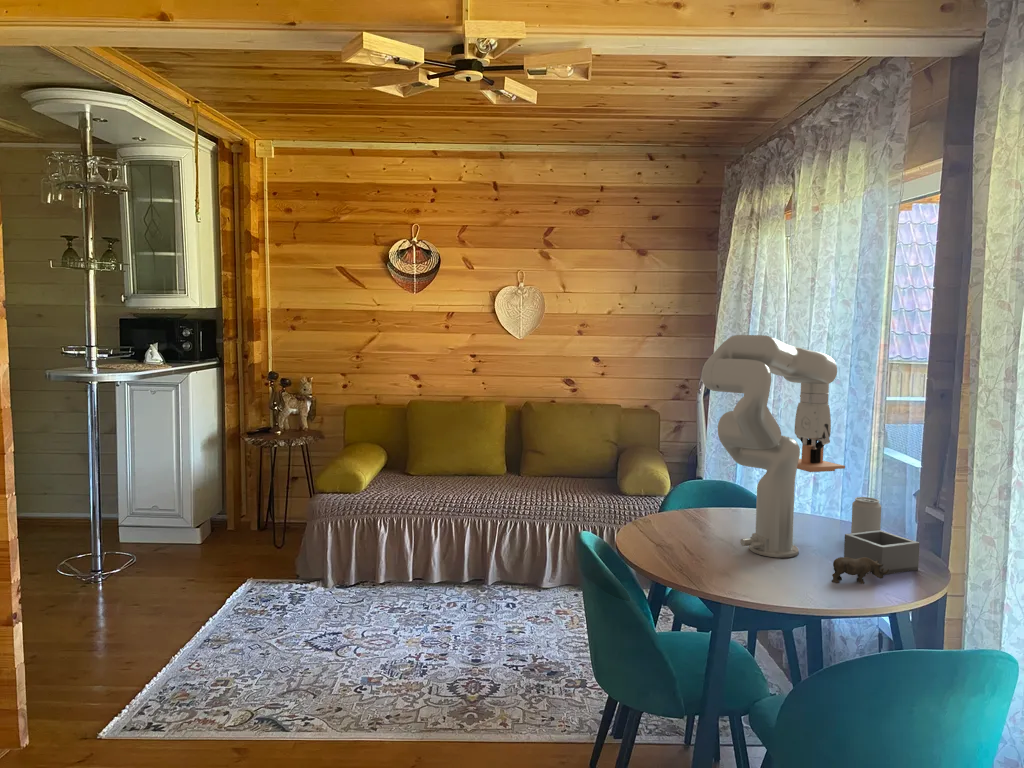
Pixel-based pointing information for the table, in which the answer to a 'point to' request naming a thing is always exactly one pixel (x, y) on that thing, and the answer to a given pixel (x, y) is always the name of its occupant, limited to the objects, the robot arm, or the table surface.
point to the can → (865, 515)
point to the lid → (815, 467)
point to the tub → (883, 550)
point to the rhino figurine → (857, 568)
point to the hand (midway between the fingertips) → (811, 461)
